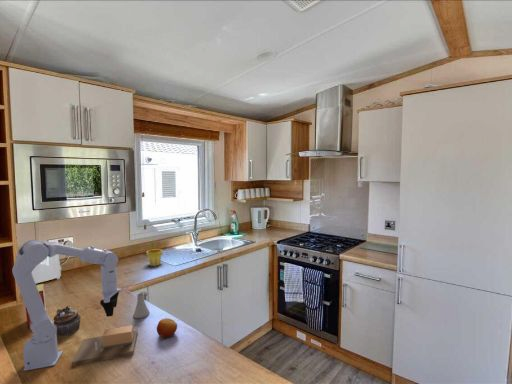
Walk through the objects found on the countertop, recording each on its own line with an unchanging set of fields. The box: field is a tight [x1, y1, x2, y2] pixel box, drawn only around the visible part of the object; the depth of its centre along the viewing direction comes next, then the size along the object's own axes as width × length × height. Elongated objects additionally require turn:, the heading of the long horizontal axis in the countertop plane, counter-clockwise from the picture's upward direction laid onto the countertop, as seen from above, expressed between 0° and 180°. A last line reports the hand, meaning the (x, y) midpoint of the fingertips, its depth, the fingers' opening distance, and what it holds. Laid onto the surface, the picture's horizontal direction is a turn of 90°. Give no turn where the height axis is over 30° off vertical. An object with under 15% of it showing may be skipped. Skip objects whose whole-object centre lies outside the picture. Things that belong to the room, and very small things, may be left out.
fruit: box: [156, 317, 178, 342], centre depth 119 cm, size 8×8×8 cm
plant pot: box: [146, 248, 163, 267], centre depth 204 cm, size 10×10×10 cm
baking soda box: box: [25, 283, 48, 330], centre depth 131 cm, size 10×6×16 cm
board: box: [71, 329, 139, 367], centre depth 111 cm, size 20×14×2 cm
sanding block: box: [102, 325, 134, 349], centre depth 112 cm, size 10×4×5 cm, turn 106°
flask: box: [133, 292, 150, 319], centre depth 136 cm, size 7×7×10 cm
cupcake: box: [53, 305, 82, 337], centre depth 124 cm, size 10×10×10 cm
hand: (111, 311), depth 121 cm, fingers open, 7 cm apart
